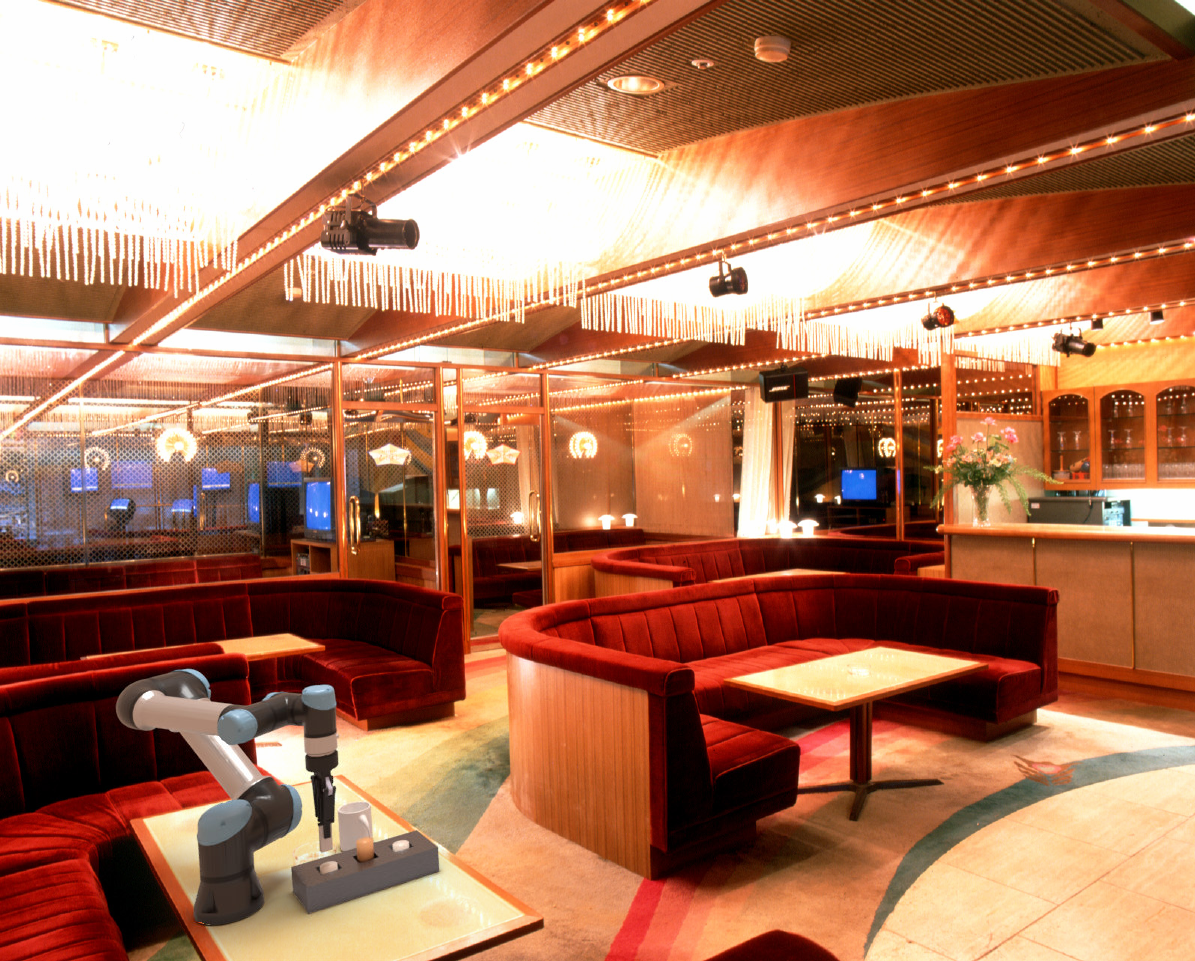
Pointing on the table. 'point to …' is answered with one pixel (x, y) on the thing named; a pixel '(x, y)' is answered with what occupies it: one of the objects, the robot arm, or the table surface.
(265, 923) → the table surface
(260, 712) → the robot arm
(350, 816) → the mug
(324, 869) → the knob near
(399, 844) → the cream rounded knob
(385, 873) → the panel
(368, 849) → the knob mid
